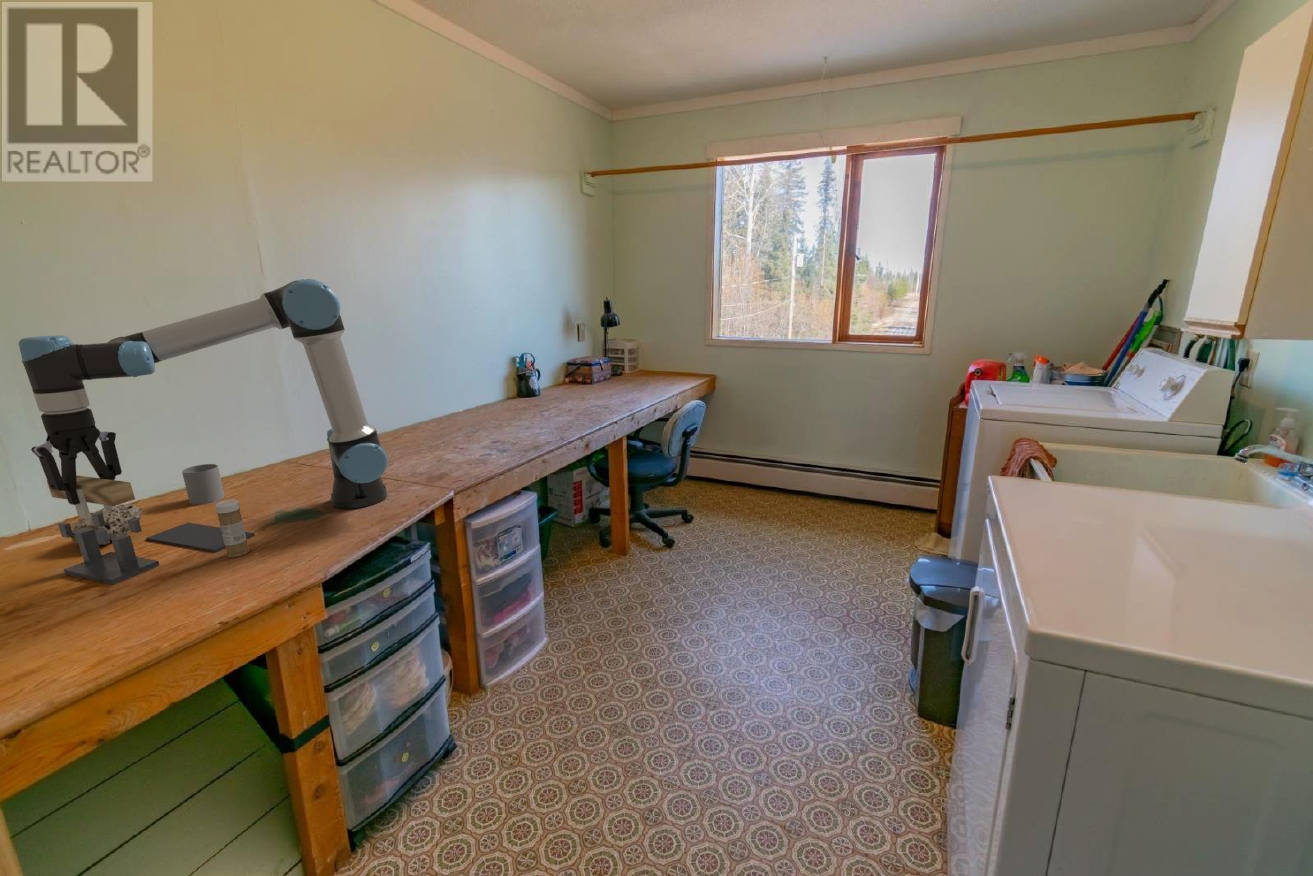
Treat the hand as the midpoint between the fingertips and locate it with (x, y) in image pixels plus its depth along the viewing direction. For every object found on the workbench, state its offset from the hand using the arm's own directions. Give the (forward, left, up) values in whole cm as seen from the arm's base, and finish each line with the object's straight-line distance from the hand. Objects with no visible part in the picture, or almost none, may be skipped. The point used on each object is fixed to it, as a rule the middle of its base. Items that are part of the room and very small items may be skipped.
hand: (97, 512), depth 123 cm
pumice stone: (+19, -11, -15) cm, 26 cm away
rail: (0, 0, +3) cm, 3 cm away
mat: (-2, -18, -14) cm, 23 cm away
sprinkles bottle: (-20, -14, -14) cm, 28 cm away
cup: (+24, -38, -14) cm, 47 cm away
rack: (0, 0, -14) cm, 14 cm away
